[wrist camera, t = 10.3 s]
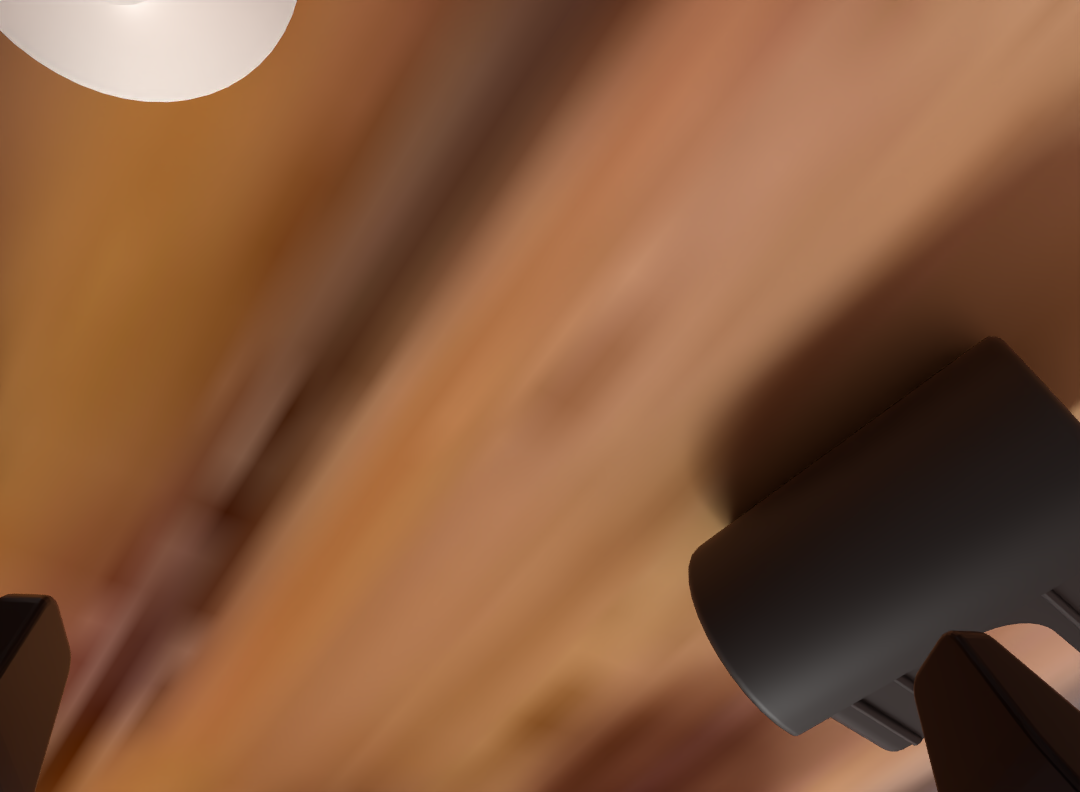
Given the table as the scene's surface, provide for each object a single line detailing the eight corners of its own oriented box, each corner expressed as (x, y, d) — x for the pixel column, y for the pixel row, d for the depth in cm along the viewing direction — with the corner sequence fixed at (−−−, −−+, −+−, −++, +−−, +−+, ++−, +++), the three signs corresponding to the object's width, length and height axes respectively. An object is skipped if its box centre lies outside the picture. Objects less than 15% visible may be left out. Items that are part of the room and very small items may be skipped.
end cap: (948, 279, 22) (1105, 449, 17) (1073, 419, 25) (1241, 600, 20) (661, 501, 26) (713, 697, 21) (801, 597, 29) (877, 789, 24)
